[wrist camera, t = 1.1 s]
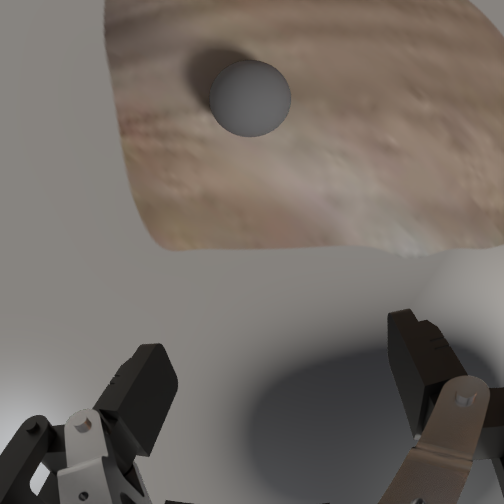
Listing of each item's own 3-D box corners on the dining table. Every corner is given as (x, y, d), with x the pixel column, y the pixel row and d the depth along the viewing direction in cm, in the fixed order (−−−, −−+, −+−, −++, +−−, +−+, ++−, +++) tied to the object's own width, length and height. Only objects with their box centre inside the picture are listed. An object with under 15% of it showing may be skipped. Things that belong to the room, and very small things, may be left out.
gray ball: (212, 78, 24) (192, 64, 18) (282, 63, 23) (280, 43, 17) (227, 144, 26) (210, 145, 20) (297, 129, 25) (299, 127, 19)
